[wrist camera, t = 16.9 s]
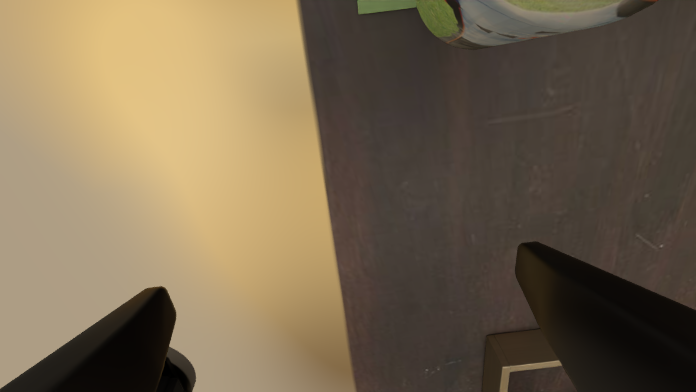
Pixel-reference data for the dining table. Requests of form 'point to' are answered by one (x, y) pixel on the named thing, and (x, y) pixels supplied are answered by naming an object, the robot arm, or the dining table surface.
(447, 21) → the beverage can
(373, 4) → the green mat
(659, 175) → the dining table surface
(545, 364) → the frame
